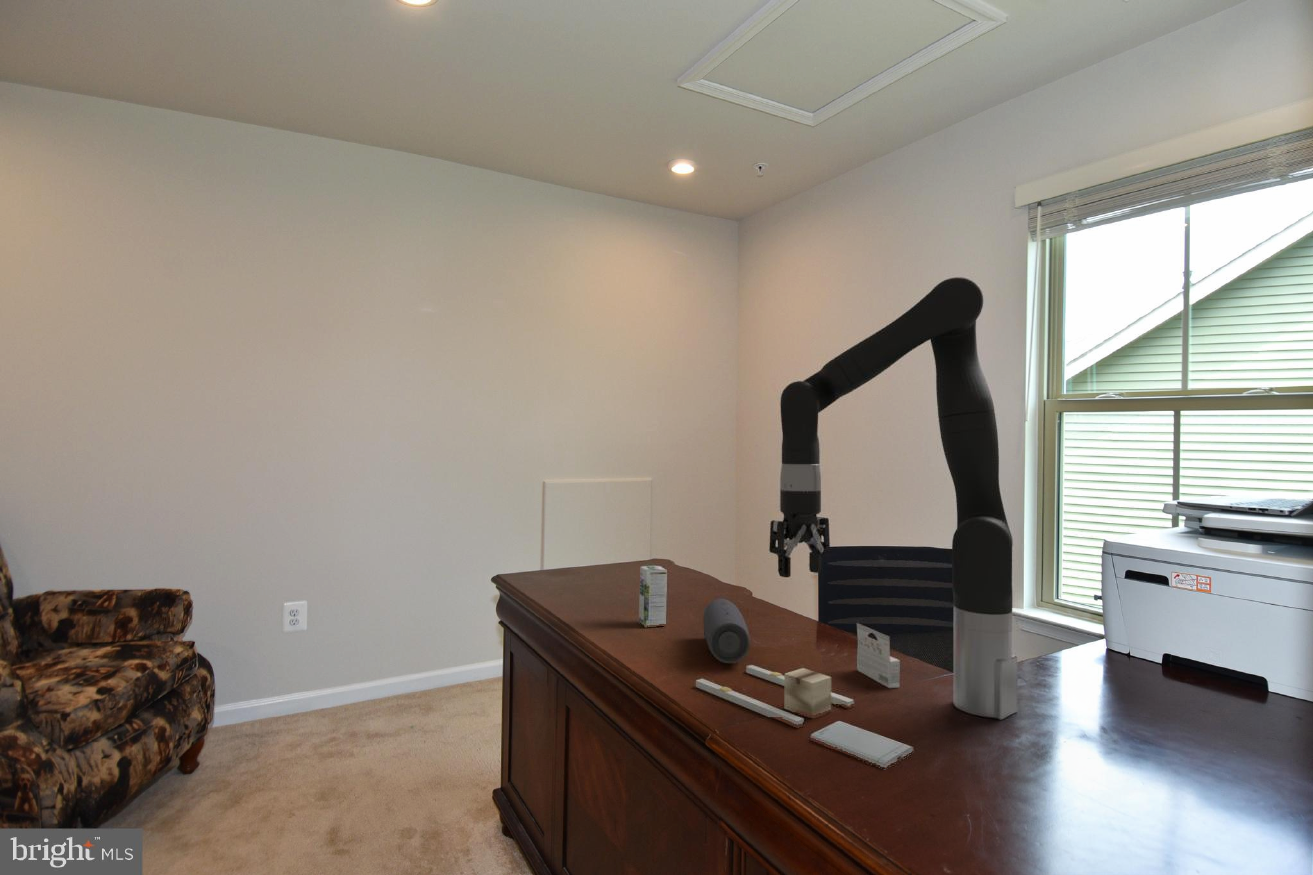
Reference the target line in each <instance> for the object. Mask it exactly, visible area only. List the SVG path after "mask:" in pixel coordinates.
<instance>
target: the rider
mask: <svg viewBox="0 0 1313 875" xmlns="http://www.w3.org/2000/svg"><path fill="white" fill-rule="evenodd" d="M784 676H785V681H784V686H783V687H784V691H783V692H784V693H783V694H784V702H783V703H784V704H783V705H784V709H785V710H788V711H791V712H793V713H795V712H796V711H799V712H800V711H801V712H805V713H808V714H810V715H816V714H818V713H823V712H825V711H828V710H831V711H832V703H831V692H832V677H831V676H829V675H826V674H824V673H820V672H818V671H813V670H810V669H807V668H805V667H801V668H798V669H796V670H795V669H794V670H792V671H789V672H785V673H784Z"/></svg>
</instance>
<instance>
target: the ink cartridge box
mask: <svg viewBox="0 0 1313 875" xmlns="http://www.w3.org/2000/svg"><path fill="white" fill-rule="evenodd" d="M856 633H857V652H856V654H857V656H856V658H857V660H856V671H858V672H859V673H862V674H863V675H865V676H866V677H868V678H870V679H872V680H874V681H876V682H877V683H880V684H881V685H882V686H885V687H887V688H889V689H896V688H900V663H901V661H900V660H899V659H897V658H896V657H893V656H891V642H890V640H891V638H890V637H891V636H889V635H886V634H884V633H882V632H879V631H877V630H875V629H872V628H870V627H868V626H865V625H863V624H861V623H858V622H856ZM871 633H872V634H873V635H874V636H875V637H876V639H874V638H872V637H870V636H869V634H871Z"/></svg>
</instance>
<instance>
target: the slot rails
mask: <svg viewBox="0 0 1313 875" xmlns="http://www.w3.org/2000/svg"><path fill="white" fill-rule="evenodd" d="M745 672H746V673H747V674H748V675H749V674H750V675H752V676H755V677H758V678H760V679H763V680H766V681H769V682H772V683H774V684H777V685H781V686H783V687H784V681H785V675H782V674H783V673H780V672H777V671H771V670H767V669H765V668H761V667H759V666H756V665H753V664H749V665H746V669H745ZM695 688H698V689H700V690H702V691H705V692H708V693H710V694H712V695H715V696H717V697H719V698H721V699H724V700H726V701H729V702H731V703H734V704H737V705H738V706H740V707H744V708H746V709H749V710H751V711H752V712H756V713H759V714H760V715H763V716H765V717H768V718H770V717H782V718H783V719H785V720H788V721H790V722H792V723H794V724H797V725H798V724H802V723H803V722H805V721H804V720H805V718H803V717H800V716H797V715H796V714H792V713H790V712H788V711H785V710H782V709H780V708H778V707H775V706H772V705H770V704H767V703H765V702H762V701H759V700H757V699H755V698H753V697H749V696H748V695H745V694H742V693H740V692H737V691H734V690H733V689H732V688H730V687H727V686H722V685H719V684H717V683H715V682H711V681H710V680H707V679H704V678H700V679H696V680H695ZM831 704H833V705H836V704H845V705H847V706H850V705H851V704H854V705H855V699H852V698H849V697H847V696H844V695H841V694H837V693H835V692H832V691H831Z"/></svg>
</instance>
